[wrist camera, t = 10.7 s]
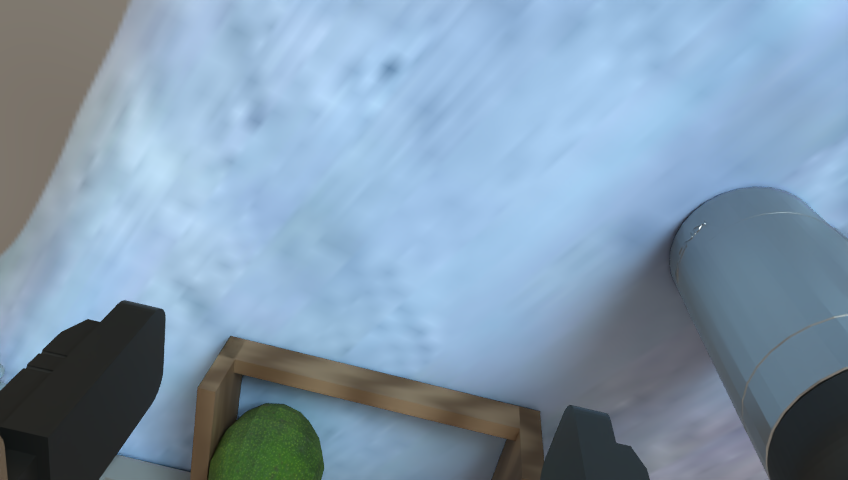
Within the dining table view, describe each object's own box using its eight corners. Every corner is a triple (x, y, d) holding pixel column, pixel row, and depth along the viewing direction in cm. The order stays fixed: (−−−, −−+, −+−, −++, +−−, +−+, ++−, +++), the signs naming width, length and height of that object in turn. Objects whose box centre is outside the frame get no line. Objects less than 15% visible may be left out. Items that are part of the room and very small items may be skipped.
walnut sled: (539, 411, 49) (546, 483, 43) (490, 536, 55) (489, 615, 49) (230, 335, 49) (191, 397, 42) (216, 470, 55) (180, 541, 49)
